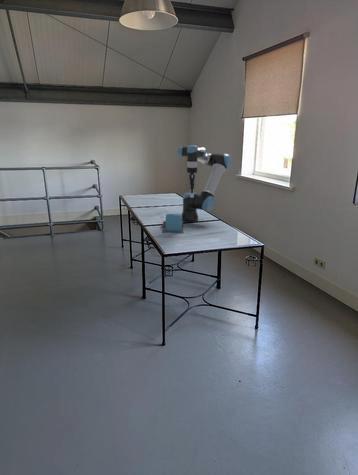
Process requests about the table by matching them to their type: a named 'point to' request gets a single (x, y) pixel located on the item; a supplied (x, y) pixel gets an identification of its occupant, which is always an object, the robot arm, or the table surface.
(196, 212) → the robot arm
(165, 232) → the charcoal mat
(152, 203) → the table surface
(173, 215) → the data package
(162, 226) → the walnut box
